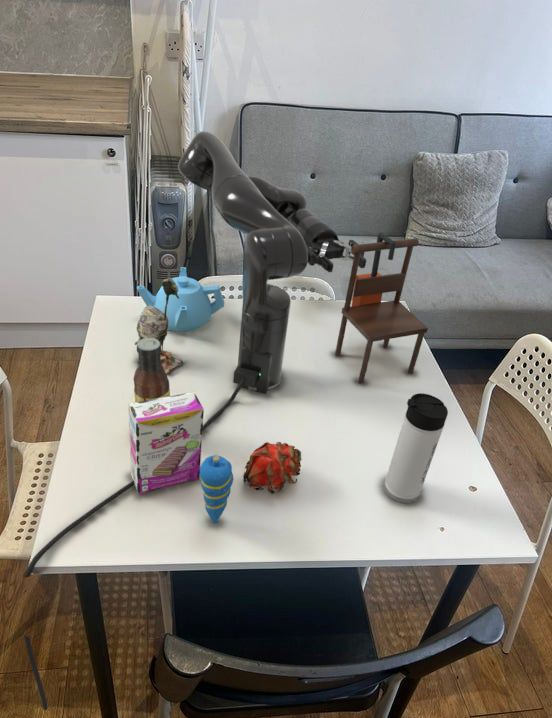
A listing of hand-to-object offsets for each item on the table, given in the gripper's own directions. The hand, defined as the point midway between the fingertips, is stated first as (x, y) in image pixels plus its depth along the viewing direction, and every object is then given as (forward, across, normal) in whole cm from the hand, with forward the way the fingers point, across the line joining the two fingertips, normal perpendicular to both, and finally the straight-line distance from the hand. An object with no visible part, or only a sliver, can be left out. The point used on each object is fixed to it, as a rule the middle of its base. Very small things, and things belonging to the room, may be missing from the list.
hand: (347, 266), depth 145 cm
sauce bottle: (+26, +53, -15) cm, 60 cm away
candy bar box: (+38, +54, -15) cm, 67 cm away
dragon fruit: (+44, +37, -15) cm, 59 cm away
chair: (+17, 0, -15) cm, 23 cm away
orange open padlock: (+12, 0, -6) cm, 14 cm away
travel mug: (+53, +16, -15) cm, 57 cm away
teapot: (-11, +36, -15) cm, 41 cm away
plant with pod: (+4, +46, -15) cm, 49 cm away
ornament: (+49, +49, -15) cm, 71 cm away
